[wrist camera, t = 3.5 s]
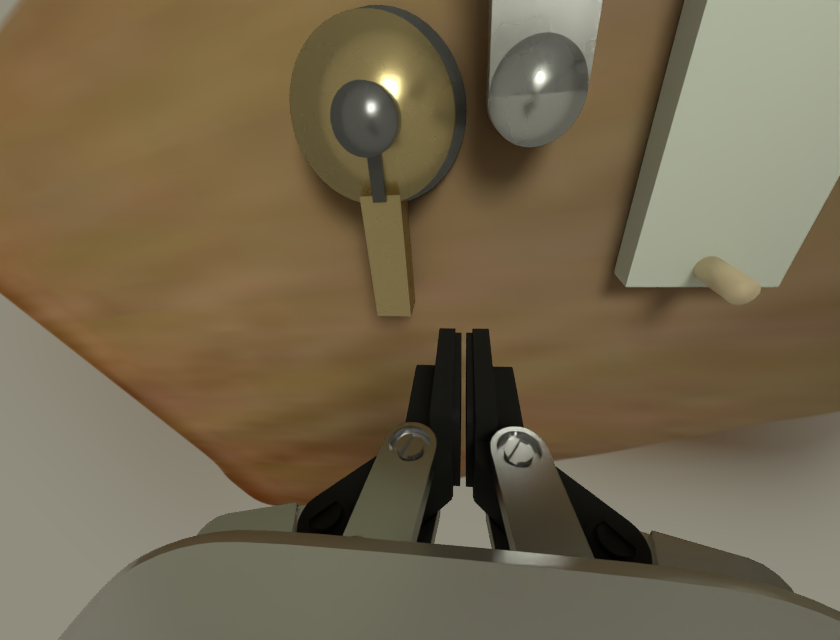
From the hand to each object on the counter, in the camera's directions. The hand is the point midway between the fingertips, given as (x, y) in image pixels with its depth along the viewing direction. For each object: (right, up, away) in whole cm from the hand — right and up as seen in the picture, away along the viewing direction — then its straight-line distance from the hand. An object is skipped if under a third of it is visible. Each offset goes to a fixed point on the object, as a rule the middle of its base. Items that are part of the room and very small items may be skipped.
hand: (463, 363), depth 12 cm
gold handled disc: (-3, +9, +8) cm, 13 cm away
